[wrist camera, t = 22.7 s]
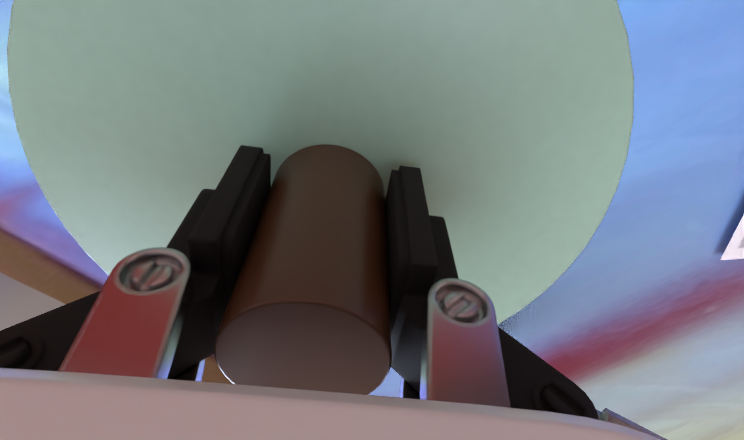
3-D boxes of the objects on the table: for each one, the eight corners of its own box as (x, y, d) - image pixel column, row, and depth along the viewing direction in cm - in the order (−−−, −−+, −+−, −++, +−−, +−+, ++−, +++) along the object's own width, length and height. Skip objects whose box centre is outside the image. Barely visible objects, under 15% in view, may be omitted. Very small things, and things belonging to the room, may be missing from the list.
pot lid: (189, 357, 19) (112, 542, 13) (-131, -111, 9) (-935, -148, 3) (572, 320, 17) (666, 511, 12) (692, -292, 7) (1607, -878, 2)
